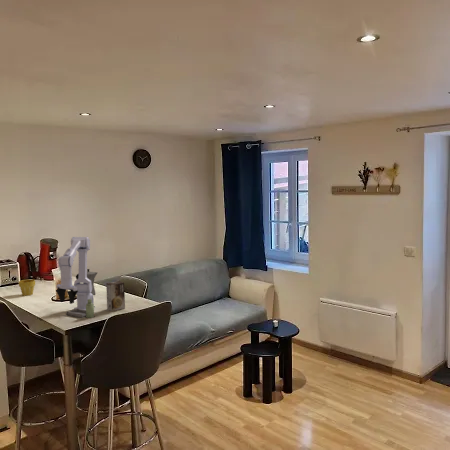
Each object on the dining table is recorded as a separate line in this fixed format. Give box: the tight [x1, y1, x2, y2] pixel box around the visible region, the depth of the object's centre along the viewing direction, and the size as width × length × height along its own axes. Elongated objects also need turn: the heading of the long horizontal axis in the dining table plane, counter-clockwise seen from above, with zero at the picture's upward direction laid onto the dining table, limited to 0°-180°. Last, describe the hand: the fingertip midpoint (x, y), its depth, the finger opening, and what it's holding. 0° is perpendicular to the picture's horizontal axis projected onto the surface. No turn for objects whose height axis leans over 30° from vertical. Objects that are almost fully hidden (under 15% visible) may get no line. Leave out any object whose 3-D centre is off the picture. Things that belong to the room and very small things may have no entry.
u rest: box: [66, 308, 86, 319], centre depth 251 cm, size 8×12×2 cm, turn 60°
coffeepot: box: [75, 268, 98, 296], centre depth 300 cm, size 15×9×18 cm, turn 129°
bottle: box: [85, 299, 95, 319], centre depth 246 cm, size 4×4×10 cm
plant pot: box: [18, 279, 36, 297], centre depth 302 cm, size 10×10×10 cm
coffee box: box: [105, 280, 126, 312], centre depth 263 cm, size 9×6×16 cm
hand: (67, 302), depth 238 cm, fingers open, 7 cm apart
